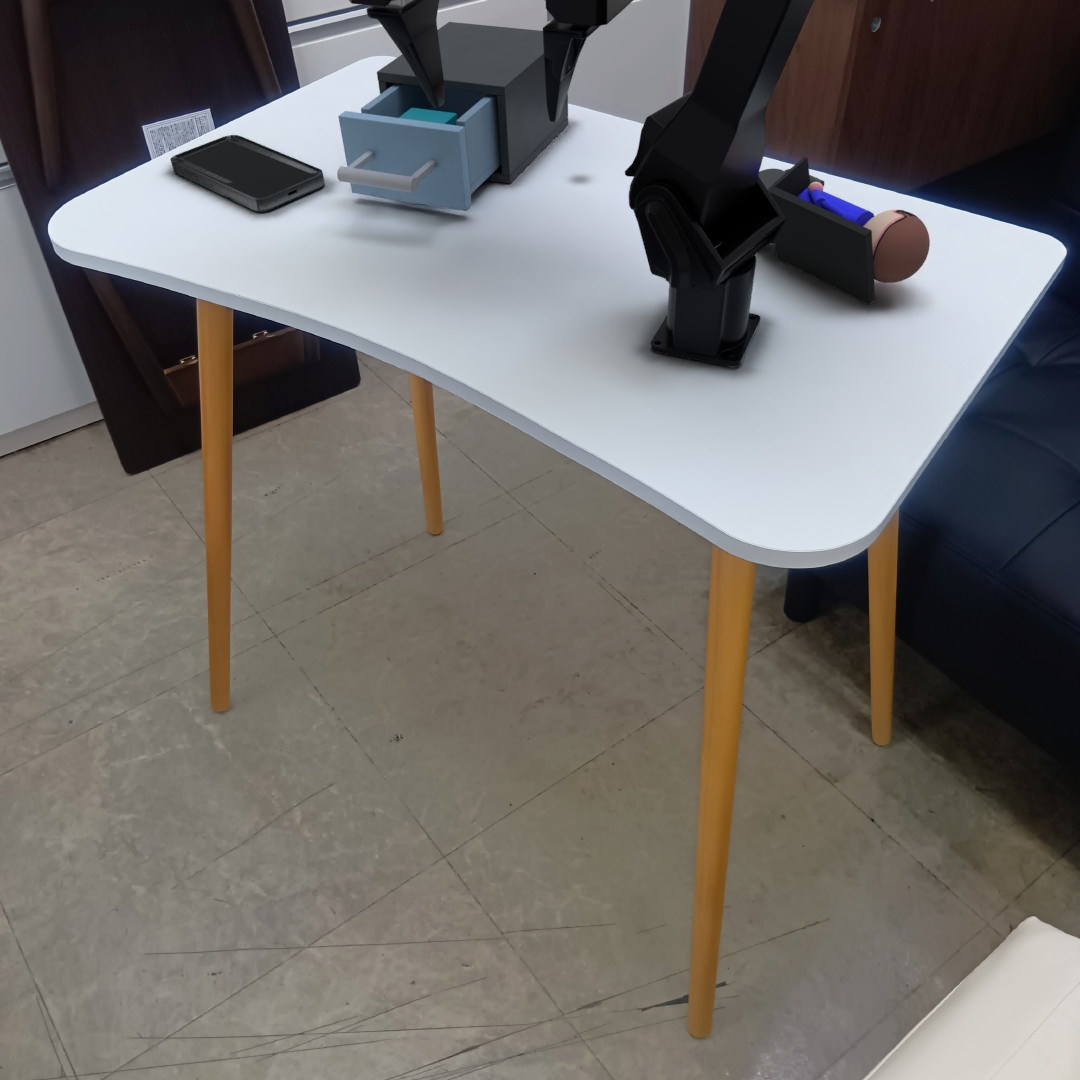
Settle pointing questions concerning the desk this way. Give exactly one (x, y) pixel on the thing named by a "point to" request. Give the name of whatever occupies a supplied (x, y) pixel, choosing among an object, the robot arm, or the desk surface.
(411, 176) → the light blue drawer
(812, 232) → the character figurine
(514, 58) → the drawer cabinet
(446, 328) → the desk surface
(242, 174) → the phone
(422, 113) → the teal cube
